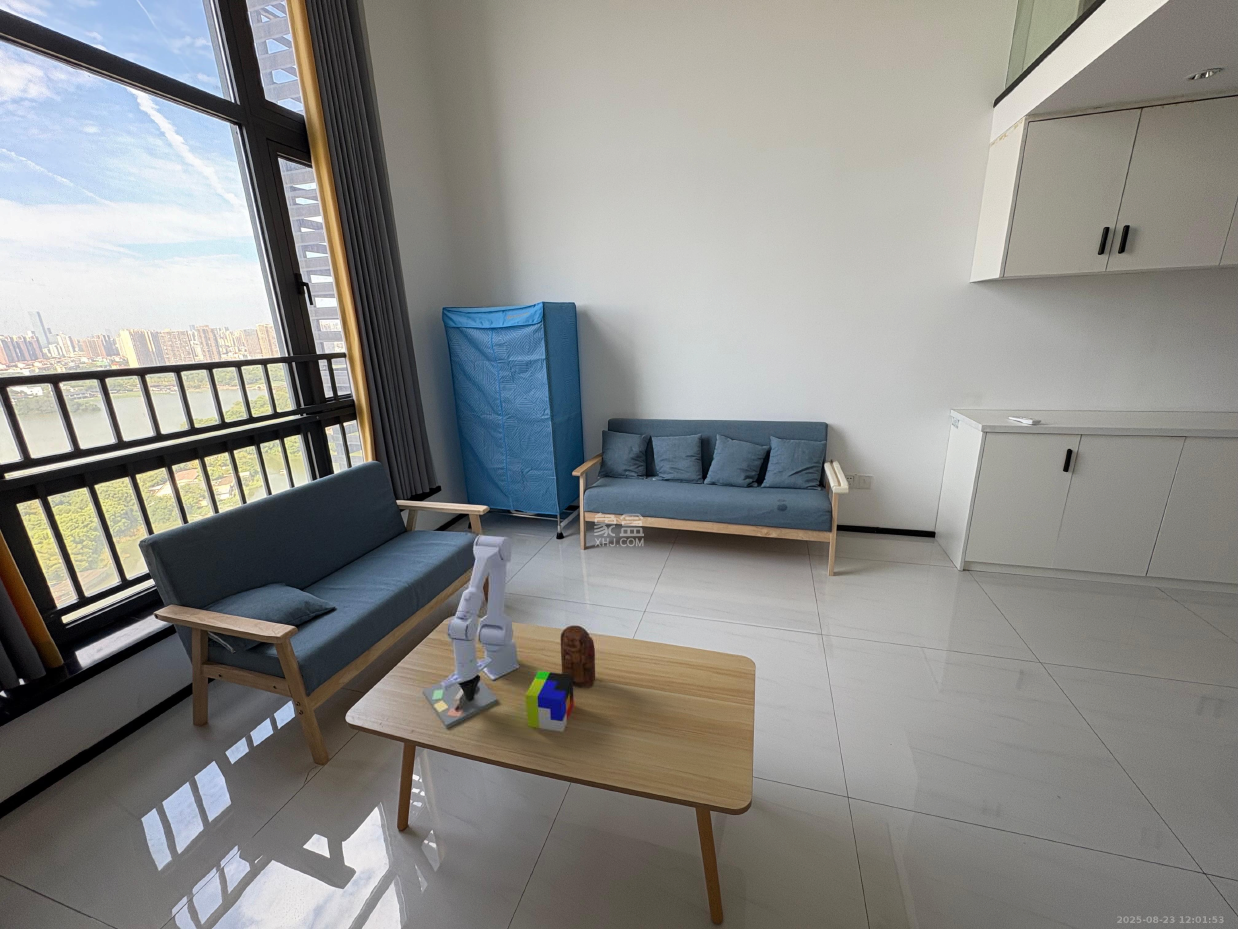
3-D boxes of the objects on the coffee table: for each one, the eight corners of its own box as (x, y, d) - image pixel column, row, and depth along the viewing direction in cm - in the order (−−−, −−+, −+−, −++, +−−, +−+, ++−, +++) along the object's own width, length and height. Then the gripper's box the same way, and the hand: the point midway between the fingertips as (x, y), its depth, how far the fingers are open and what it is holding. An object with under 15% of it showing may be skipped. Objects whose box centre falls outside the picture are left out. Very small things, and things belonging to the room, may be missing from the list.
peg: (466, 685, 147) (465, 675, 146) (479, 686, 146) (478, 677, 145) (449, 710, 137) (448, 700, 136) (462, 711, 136) (461, 702, 135)
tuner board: (471, 671, 155) (470, 668, 154) (497, 702, 141) (497, 698, 141) (423, 693, 145) (422, 689, 145) (446, 728, 132) (446, 724, 132)
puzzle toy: (563, 732, 130) (561, 700, 128) (527, 726, 132) (525, 695, 130) (573, 705, 140) (572, 675, 138) (540, 700, 142) (538, 670, 140)
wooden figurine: (555, 683, 149) (553, 631, 145) (564, 670, 155) (561, 619, 150) (592, 691, 145) (590, 637, 141) (599, 677, 151) (598, 625, 147)
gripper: (480, 640, 143) (484, 680, 147) (433, 663, 133) (438, 706, 136) (494, 649, 139) (497, 690, 142) (446, 675, 128) (451, 718, 132)
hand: (469, 699), depth 139 cm, fingers closed
